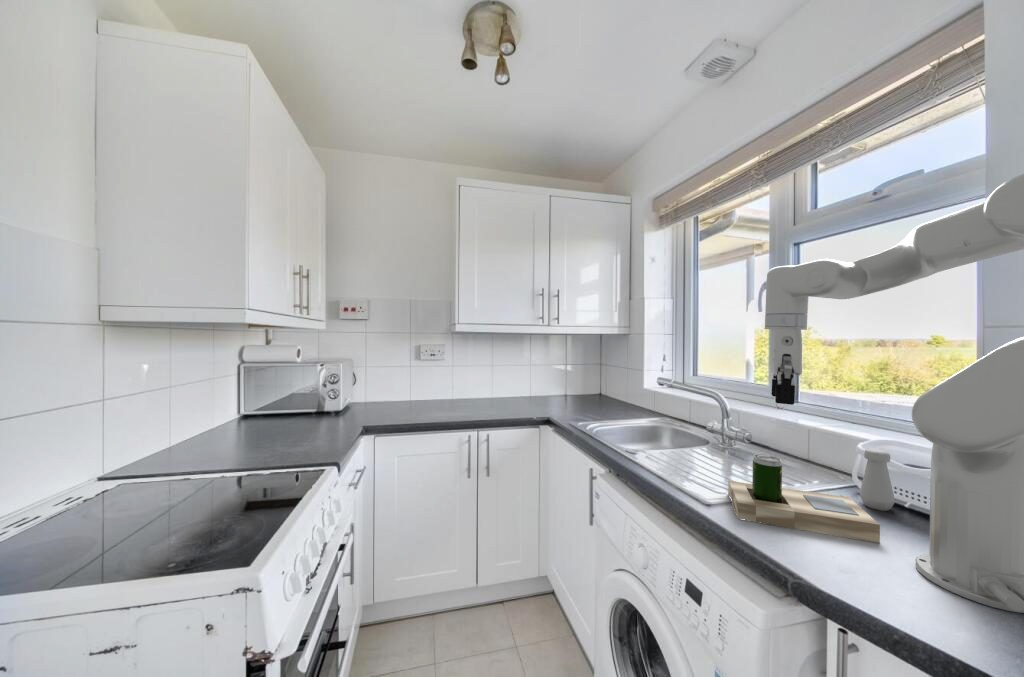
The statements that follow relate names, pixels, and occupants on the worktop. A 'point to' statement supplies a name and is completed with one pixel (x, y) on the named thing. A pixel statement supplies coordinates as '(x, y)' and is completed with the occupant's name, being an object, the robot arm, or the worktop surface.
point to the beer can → (767, 478)
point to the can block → (806, 512)
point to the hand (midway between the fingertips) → (782, 400)
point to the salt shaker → (877, 481)
